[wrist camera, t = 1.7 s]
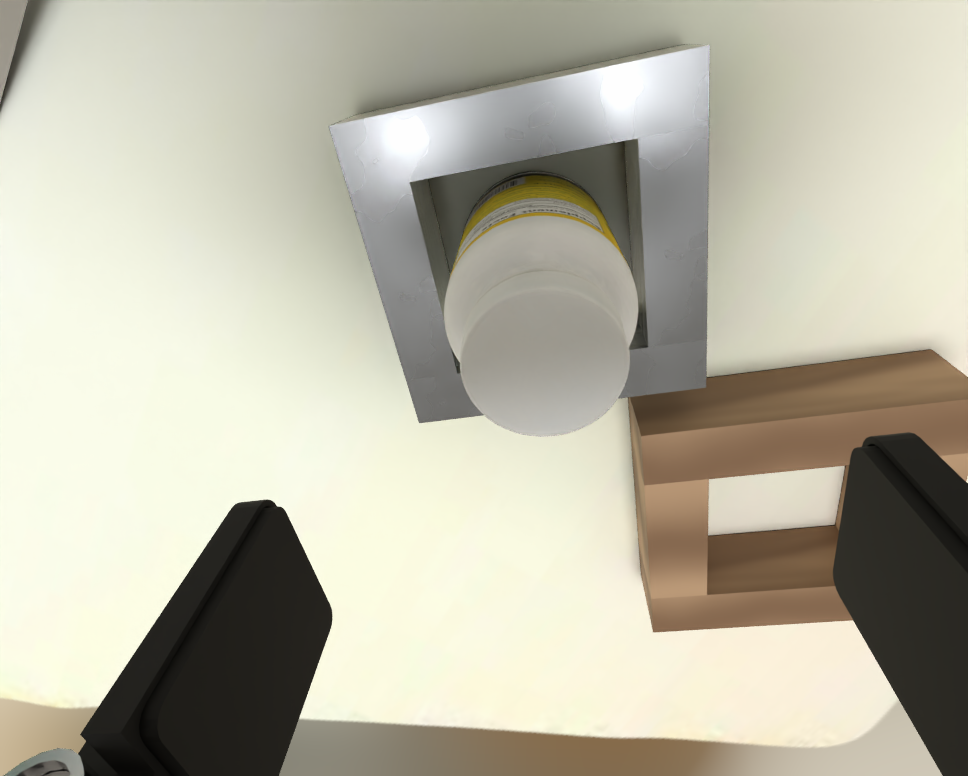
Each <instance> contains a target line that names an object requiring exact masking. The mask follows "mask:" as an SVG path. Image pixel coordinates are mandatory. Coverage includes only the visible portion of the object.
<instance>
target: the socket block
mask: <svg viewBox="0 0 968 776" xmlns="http://www.w3.org/2000/svg"><path fill="white" fill-rule="evenodd" d="M709 67H710V45H692V44H683V45H678V46H673V47H669V48H664V49H659V50H655V51H650V52H645V53H641V54H636V55H632V56H627V57H622V58H618V59H613V60H608V61H604V62H599V63H594V64H590V65H585V66H580V67H576V68H571V69H566V70H562V71H557V72H552V73H548V74H543V75H538V76H534V77H529V78H525V79H520V80H515V81H511V82H506V83H501V84H497V85H492V86H487V87H483V88H478V89H473V90H469V91H464V92H459V93H455V94H450V95H445V96H441V97H436V98H432V99H427V100H422V101H418V102H413V103H408V104H404V105H399V106H394V107H390V108H385V109H380V110H376V111H371V112H366V113H362V114H357V115H353V116H351V117H349V118H347V119H344V120H342V121H340V122H337V123H335V124H333V125H330V126H329V129H330V132H331V136H332V139H333V142H334V146H335V149H336V152H337V155H338V159H339V162H340V165H341V169H342V172H343V175H344V178H345V182H346V185H347V188H348V191H349V195H350V198H351V201H352V205H353V208H354V211H355V214H356V218H357V221H358V224H359V227H360V231H361V234H362V237H363V241H364V244H365V247H366V250H367V254H368V257H369V260H370V264H371V267H372V270H373V273H374V277H375V280H376V283H377V286H378V290H379V293H380V296H381V300H382V303H383V306H384V309H385V313H386V316H387V319H388V322H389V326H390V329H391V332H392V336H393V339H394V342H395V345H396V349H397V352H398V355H399V359H400V362H401V365H402V368H403V372H404V375H405V378H406V381H407V385H408V388H409V391H410V395H411V398H412V401H413V404H414V408H415V411H416V414H417V417H418V421H419V423H424V422H433V421H441V420H449V419H457V418H465V417H473V416H481V415H484V414H482V413H481V412H480V411H479V409H478V408H477V407H476V406H475V405H474V403H473V402H472V401H471V399H470V397H469V396H468V394H467V392H466V389H465V387H464V384H463V381H462V377H461V372H460V362H459V361H458V359H457V358H456V356H455V354H454V352H453V350H452V348H451V346H450V343H449V341H448V337H447V334H446V330H445V321H444V304H445V296H446V292H447V288H448V283H449V279H450V272H449V268H448V264H447V260H446V255H445V251H444V247H443V242H442V238H441V234H440V230H439V225H438V221H437V217H436V212H435V208H434V204H433V200H432V195H431V191H430V187H429V182H428V179H429V178H434V177H439V176H444V175H450V174H455V173H460V172H465V171H470V170H476V169H481V168H486V167H491V166H496V165H502V164H507V163H512V162H517V161H522V160H528V159H533V158H538V157H543V156H548V155H554V154H559V153H564V152H569V151H574V150H579V149H585V148H590V147H595V146H600V145H605V144H611V143H616V142H621V141H624V146H625V163H626V179H627V196H628V212H629V229H630V245H631V262H632V276H633V279H634V283H635V286H636V290H637V296H638V319H637V325H636V330H635V333H634V336H633V339H632V342H631V344H630V346H629V352H630V366H629V373H628V377H627V380H626V383H625V386H624V388H623V390H622V392H621V394H620V396H619V397H618V398H626V397H634V396H642V395H650V394H659V393H667V392H675V391H683V390H691V389H699V388H706V354H707V258H708V163H709Z"/></svg>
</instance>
